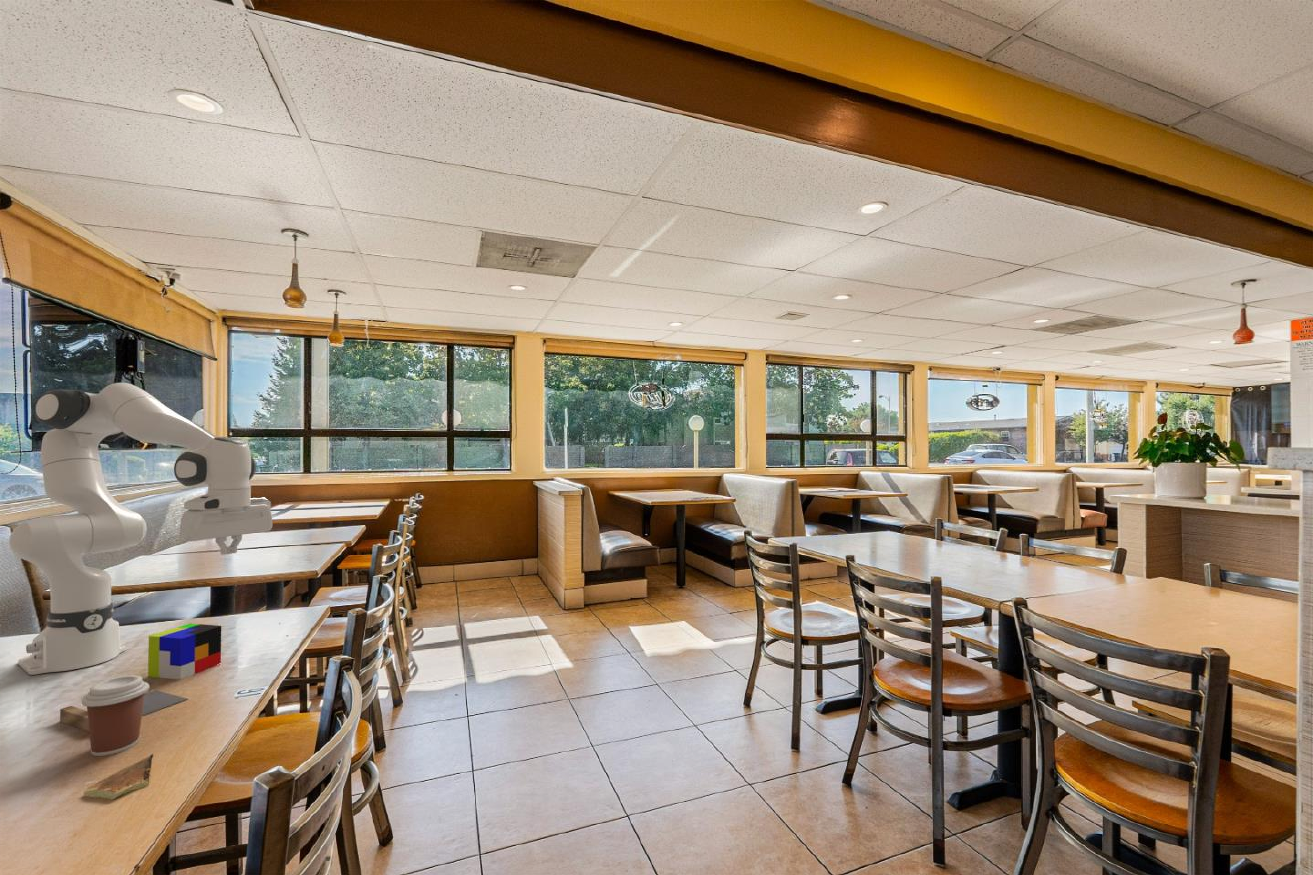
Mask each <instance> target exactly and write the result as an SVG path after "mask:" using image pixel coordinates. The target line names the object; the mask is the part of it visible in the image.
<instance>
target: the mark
mask: <svg viewBox="0 0 1313 875" xmlns="http://www.w3.org/2000/svg"><path fill="white" fill-rule="evenodd" d="M187 700H189V698H187V697H183V696H179V695H176V694H172V693H168V692H164V691H161V690H158V689H157V690H156V689H155V690H151V691H150V692H146V693H144V701H143V709H142V717H143V716H146V715H150V714H153V713H154V712H157V711H160V710H164V709H166V708H168V707H171V706H174V705H177V704H179V703H182V702H185V701H187Z"/></svg>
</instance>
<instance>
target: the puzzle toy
mask: <svg viewBox="0 0 1313 875" xmlns="http://www.w3.org/2000/svg"><path fill="white" fill-rule="evenodd" d="M147 659H148V661H147V663H148V664H147V677H149V676H152V677H151V678H159V677H160V678H161V679H171V680H178V679H180V680H183V678H184V679H186V678H189V677H191V676H193V674H194V675H196V673H197V674H199V673H201V672H204V671H206V669H207V670H209V669H212V668H214V667H216V666H215V665H217V664H219V663H221V664H222V625H215V624H202V623H201V624H200V623H187V624H184V625H180V626H177V627H174V628H172V629H168V630H167V629H166V630H163V631H160V632H158V633H154V634H151V635H148V658H147ZM213 666H214V667H213ZM217 666H218V665H217ZM211 667H212V668H211ZM208 668H209V669H208ZM188 676H189V677H188Z"/></svg>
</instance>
